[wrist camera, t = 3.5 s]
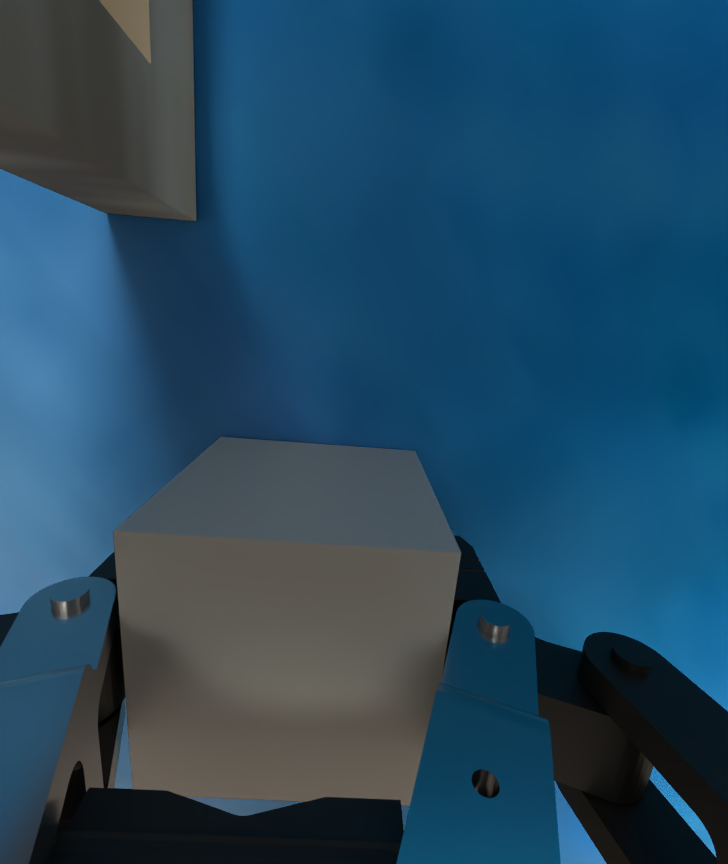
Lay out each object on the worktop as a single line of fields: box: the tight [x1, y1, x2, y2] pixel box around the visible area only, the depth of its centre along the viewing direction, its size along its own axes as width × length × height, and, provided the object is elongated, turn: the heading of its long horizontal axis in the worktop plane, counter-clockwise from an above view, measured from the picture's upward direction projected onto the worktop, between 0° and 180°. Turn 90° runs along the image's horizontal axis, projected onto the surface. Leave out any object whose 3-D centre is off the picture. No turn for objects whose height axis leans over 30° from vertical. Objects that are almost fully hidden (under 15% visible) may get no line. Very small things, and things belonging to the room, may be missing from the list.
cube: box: [113, 437, 461, 806], centre depth 9 cm, size 5×5×5 cm
